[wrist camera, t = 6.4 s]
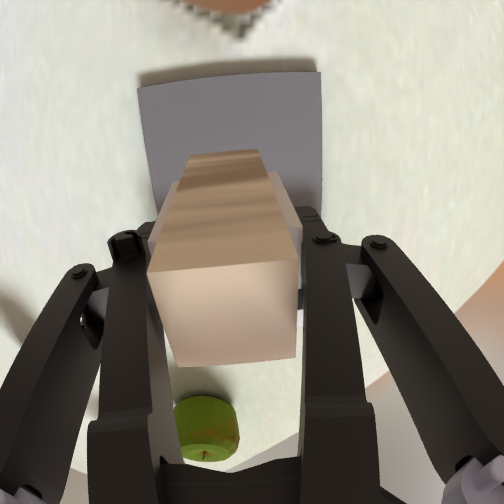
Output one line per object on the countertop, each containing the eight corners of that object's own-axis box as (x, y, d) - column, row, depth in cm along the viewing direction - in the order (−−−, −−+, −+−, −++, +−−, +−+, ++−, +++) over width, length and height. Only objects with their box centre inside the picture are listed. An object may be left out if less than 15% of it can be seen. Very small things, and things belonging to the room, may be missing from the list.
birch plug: (190, 155, 18) (146, 272, 8) (257, 148, 18) (298, 258, 8) (198, 215, 20) (178, 367, 10) (261, 209, 21) (295, 357, 10)
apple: (173, 416, 52) (169, 468, 43) (172, 384, 46) (165, 444, 37) (234, 421, 53) (235, 473, 44) (242, 391, 48) (245, 450, 39)
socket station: (140, 87, 25) (121, 91, 20) (317, 72, 25) (335, 72, 20) (183, 311, 38) (178, 344, 34) (314, 300, 39) (323, 332, 34)
